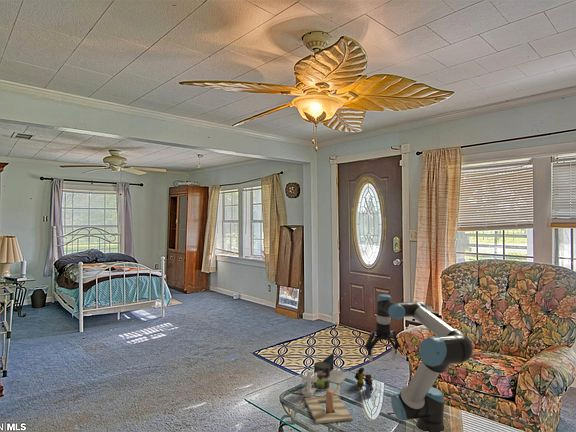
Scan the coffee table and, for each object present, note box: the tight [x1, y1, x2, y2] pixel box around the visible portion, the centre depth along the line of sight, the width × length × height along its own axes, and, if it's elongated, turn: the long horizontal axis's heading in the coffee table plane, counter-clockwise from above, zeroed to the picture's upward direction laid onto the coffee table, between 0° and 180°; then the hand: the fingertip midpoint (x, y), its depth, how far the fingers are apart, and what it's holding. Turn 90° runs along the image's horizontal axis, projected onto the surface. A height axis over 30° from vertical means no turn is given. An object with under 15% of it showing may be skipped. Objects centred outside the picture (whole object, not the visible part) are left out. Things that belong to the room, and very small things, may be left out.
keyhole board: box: [304, 395, 354, 425], centre depth 212 cm, size 24×20×2 cm
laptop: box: [322, 352, 350, 385], centre depth 254 cm, size 18×12×13 cm
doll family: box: [353, 367, 374, 398], centre depth 236 cm, size 23×9×13 cm, turn 23°
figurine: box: [301, 369, 317, 398], centre depth 227 cm, size 7×9×15 cm
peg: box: [325, 389, 335, 414], centre depth 209 cm, size 4×4×12 cm
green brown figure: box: [312, 361, 331, 392], centre depth 239 cm, size 10×10×14 cm
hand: (382, 360), depth 211 cm, fingers open, 13 cm apart
